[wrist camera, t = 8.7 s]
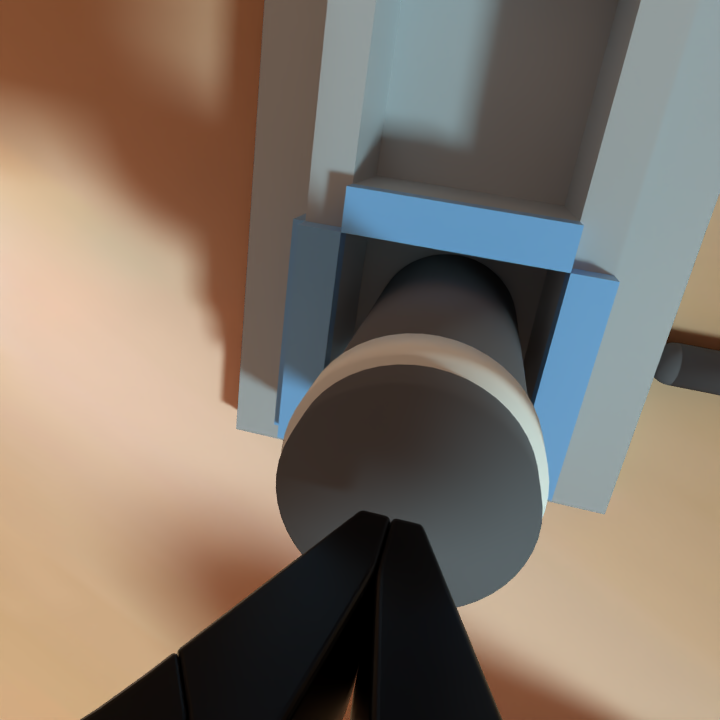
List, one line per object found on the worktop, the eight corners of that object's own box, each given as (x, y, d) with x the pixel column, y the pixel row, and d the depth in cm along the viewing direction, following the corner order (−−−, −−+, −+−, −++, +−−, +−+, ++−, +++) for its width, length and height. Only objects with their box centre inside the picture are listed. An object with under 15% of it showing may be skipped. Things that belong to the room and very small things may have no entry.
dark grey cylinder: (539, 264, 16) (591, 411, 8) (502, 405, 18) (512, 647, 9) (383, 235, 17) (278, 345, 8) (361, 374, 18) (256, 579, 10)
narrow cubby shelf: (978, -593, 10) (1308, -1084, 6) (599, 496, 19) (629, 598, 15) (320, -579, 12) (228, -961, 8) (247, 415, 21) (185, 487, 17)
